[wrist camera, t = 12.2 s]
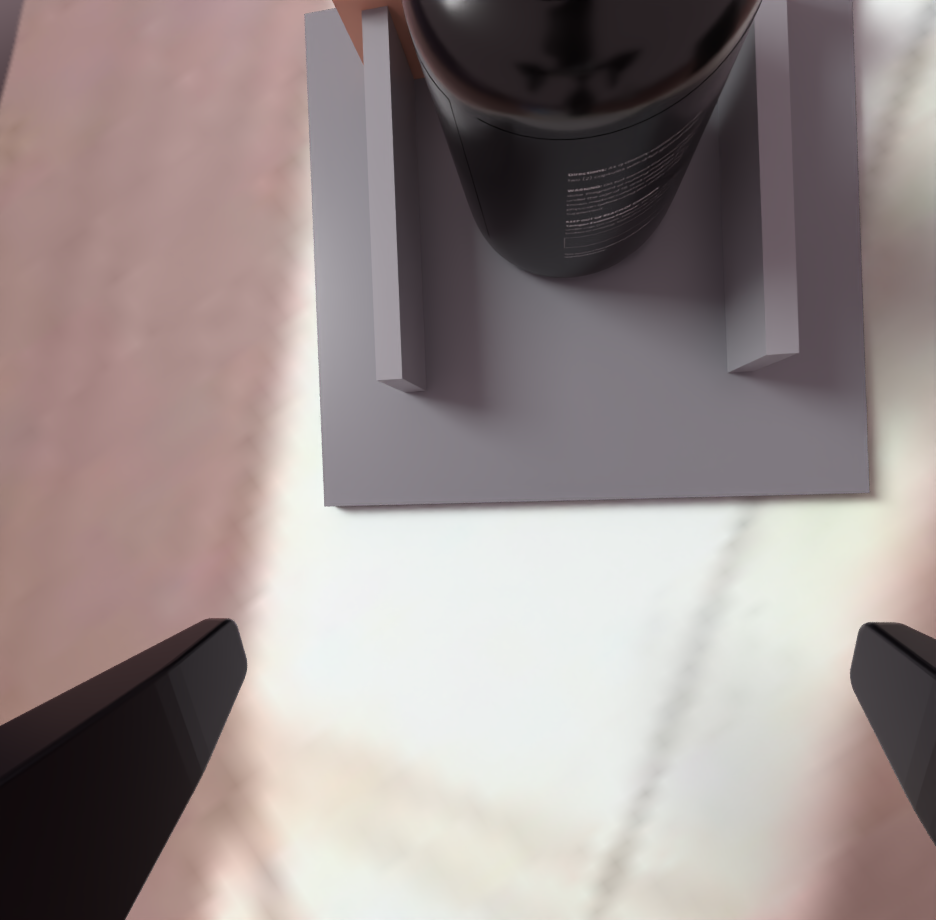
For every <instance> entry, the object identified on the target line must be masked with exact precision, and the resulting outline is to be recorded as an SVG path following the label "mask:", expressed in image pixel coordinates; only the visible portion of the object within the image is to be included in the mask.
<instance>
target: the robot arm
mask: <svg viewBox="0 0 936 920" xmlns="http://www.w3.org/2000/svg"><path fill="white" fill-rule="evenodd" d="M246 672H247V658H246V655H245V651H244V648H243V644H242V640H241V637H240V633H239V630H238V626H237V624H236V623H235V621H233V620H232V619H229V618H209V619H205V620H203V621H201V622H199V623H197V624H195V625H193V626H191V627H189V628H187V629H185V630H183V631H181V632H180V633H178V634H176V635H174V636H172V637H170V638H168V639H166V640H164V641H162V642H160V643H158V644H157V645H155V646H153V647H151V648H149V649H147V650H145V651H143V652H141V653H139V654H137V655H135V656H133V657H132V658H130V659H128V660H126V661H124V662H122V663H120V664H118V665H116V666H114V667H112V668H110V669H108V670H107V671H105V672H103V673H101V674H99V675H97V676H95V677H93V678H91V679H89V680H87V681H85V682H83V683H82V684H80V685H78V686H76V687H74V688H72V689H70V690H68V691H66V692H64V693H62V694H60V695H59V696H57V697H55V698H53V699H51V700H49V701H47V702H45V703H43V704H41V705H39V706H37V707H35V708H34V709H32V710H30V711H28V712H26V713H24V714H22V715H20V716H18V717H16V718H14V719H12V720H10V721H9V722H7V723H5V724H3V725H1V726H0V920H125V919H126V917H127V916H128V914H129V912H130V910H131V908H132V906H133V904H134V903H135V901H136V899H137V897H138V895H139V893H140V891H141V890H142V888H143V886H144V884H145V882H146V880H147V878H148V877H149V875H150V873H151V871H152V869H153V867H154V865H155V863H156V862H157V860H158V858H159V856H160V854H161V852H162V850H163V849H164V847H165V845H166V843H167V841H168V839H169V837H170V836H171V834H172V832H173V830H174V828H175V826H176V824H177V823H178V821H179V819H180V817H181V815H182V813H183V811H184V810H185V808H186V806H187V804H188V802H189V800H190V798H191V797H192V795H193V793H194V791H195V789H196V787H197V785H198V783H199V781H200V779H201V777H202V775H203V773H204V771H205V769H206V767H207V764H208V762H209V760H210V758H211V756H212V753H213V751H214V749H215V746H216V744H217V742H218V739H219V737H220V735H221V732H222V730H223V728H224V725H225V723H226V721H227V718H228V716H229V714H230V711H231V709H232V707H233V704H234V702H235V700H236V697H237V695H238V693H239V690H240V688H241V686H242V683H243V681H244V679H245V676H246ZM850 679H851V684H852V687H853V690H854V692H855V694H856V696H857V698H858V700H859V702H860V704H861V706H862V708H863V710H864V712H865V714H866V716H867V718H868V720H869V722H870V724H871V726H872V728H873V730H874V732H875V734H876V736H877V738H878V740H879V742H880V744H881V746H882V748H883V750H884V752H885V754H886V756H887V758H888V760H889V762H890V764H891V766H892V768H893V770H894V772H895V774H896V776H897V778H898V780H899V782H900V784H901V786H902V788H903V790H904V792H905V794H906V796H907V798H908V800H909V802H910V803H911V805H912V807H913V809H914V811H915V813H916V814H917V816H918V818H919V819H920V821H921V823H922V824H923V826H924V828H925V829H926V831H927V833H928V834H929V836H930V838H931V839H932V841H933V842H934V844H935V846H936V639H934V638H932V637H929V636H927V635H925V634H923V633H921V632H919V631H917V630H915V629H912V628H910V627H908V626H906V625H904V624H901V623H896V622H868V623H865V624H863V625H862V626H861V628H860V629H859V632H858V636H857V641H856V645H855V650H854V655H853V660H852V664H851V669H850Z"/></svg>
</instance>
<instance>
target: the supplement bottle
mask: <svg viewBox="0 0 936 920" xmlns="http://www.w3.org/2000/svg"><path fill="white" fill-rule="evenodd" d="M401 1H402V5H403V10H404V14H405V18H406V22H407V25H408V28H409V32H410V35H411V39H412V42H413V45H414V48H415V51H416V54H417V57H418V60H419V63H420V65H421V68H422V71H423V74H424V77H425V80H426V83H427V86H428V89H429V92H430V95H431V98H432V100H433V103H434V106H435V109H436V112H437V115H438V118H439V121H440V124H441V127H442V129H443V132H444V135H445V138H446V141H447V144H448V147H449V150H450V153H451V156H452V159H453V161H454V164H455V167H456V170H457V173H458V176H459V179H460V182H461V185H462V188H463V191H464V193H465V196H466V199H467V202H468V205H469V207H470V210H471V213H472V215H473V218H474V220H475V222H476V224H477V226H478V228H479V230H480V231H481V233H482V235H483V236H484V238H485V239H486V241H487V242H488V243H489V244H490V246H491V247H492V248H493V249H494V250H495V251H496V252H497V253H498V254H499V255H501V256H502V257H503V258H504V259H506V260H507V261H508V262H510V263H512V264H513V265H515V266H517V267H519V268H521V269H523V270H525V271H528V272H530V273H534V274H537V275H541V276H546V277H554V278H572V277H580V276H586V275H590V274H593V273H597V272H599V271H602V270H605V269H607V268H609V267H611V266H613V265H615V264H617V263H619V262H621V261H622V260H624V259H626V258H627V257H628V256H630V255H631V254H632V253H634V252H635V251H636V250H637V249H638V248H640V247H641V246H642V245H643V244H644V243H645V242H646V241H647V240H648V239H649V237H650V236H651V235H652V234H653V232H654V231H655V230H656V229H657V227H658V226H659V224H660V223H661V221H662V219H663V218H664V216H665V215H666V213H667V211H668V209H669V207H670V205H671V203H672V201H673V199H674V197H675V195H676V193H677V191H678V188H679V186H680V184H681V182H682V179H683V177H684V175H685V173H686V170H687V168H688V166H689V164H690V162H691V159H692V157H693V155H694V153H695V150H696V148H697V146H698V144H699V141H700V139H701V137H702V135H703V133H704V130H705V128H706V126H707V124H708V121H709V119H710V117H711V115H712V112H713V110H714V108H715V106H716V104H717V101H718V99H719V97H720V95H721V92H722V90H723V88H724V86H725V83H726V81H727V79H728V77H729V74H730V72H731V70H732V68H733V66H734V63H735V61H736V59H737V57H738V54H739V52H740V50H741V48H742V45H743V43H744V41H745V39H746V36H747V34H748V32H749V30H750V28H751V25H752V23H753V21H754V19H755V16H756V14H757V12H758V9H759V7H760V5H761V2H762V0H401Z"/></svg>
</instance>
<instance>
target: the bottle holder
mask: <svg viewBox="0 0 936 920" xmlns="http://www.w3.org/2000/svg"><path fill="white" fill-rule="evenodd" d="M332 1H333V3H334V5H335V7H336V8H334V9H328V10H323V11H318V12H312V13H307V14H304V15H305V40H306V64H307V89H308V113H309V138H310V163H311V187H312V212H313V236H314V261H315V285H316V310H317V334H318V359H319V383H320V408H321V432H322V457H323V481H324V506H363V505H403V504H443V503H484V502H524V501H564V500H604V499H644V498H684V497H724V496H764V495H804V494H845V493H869V465H868V437H867V408H866V380H865V351H864V322H863V294H862V265H861V237H860V208H859V180H858V151H857V123H856V94H855V66H854V37H853V8H852V0H762V2H761V5H760V7H759V9H758V12H757V14H756V16H755V19H754V21H753V23H752V25H751V28H750V30H749V32H748V34H747V36H746V39H745V41H744V43H743V45H742V48H741V50H740V52H739V54H738V57H737V59H736V61H735V63H734V66H733V68H732V70H731V72H730V74H729V77H728V79H727V81H726V83H725V86H724V88H723V90H722V92H721V95H720V97H719V99H718V101H717V104H716V106H715V108H714V110H713V112H712V115H711V117H710V119H709V121H708V124H707V126H706V128H705V130H704V133H703V135H702V137H701V139H700V141H699V144H698V146H697V148H696V150H695V153H694V155H693V157H692V159H691V162H690V164H689V166H688V168H687V170H686V173H685V175H684V177H683V179H682V182H681V184H680V186H679V188H678V191H677V193H676V195H675V197H674V199H673V201H672V203H671V205H670V207H669V209H668V211H667V213H666V215H665V216H664V218H663V219H662V221H661V223H660V224H659V226H658V227H657V229H656V230H655V231H654V232H653V234H652V235H651V236H650V237H649V239H648V240H647V241H646V242H645V243H644V244H643V245H642V246H641V247H640V248H638V249H637V250H636V251H635V252H634V253H632V254H631V255H630V256H628V257H627V258H626V259H624V260H622V261H621V262H619V263H617V264H615V265H613V266H611V267H609V268H607V269H605V270H602V271H599V272H597V273H593V274H590V275H586V276H580V277H572V278H554V277H546V276H541V275H537V274H534V273H530V272H528V271H525V270H523V269H521V268H519V267H517V266H515V265H513V264H512V263H510V262H508V261H507V260H506V259H504V258H503V257H502V256H501V255H499V254H498V253H497V252H496V251H495V250H494V249H493V248H492V247H491V246H490V244H489V243H488V242H487V241H486V239H485V238H484V236H483V235H482V233H481V231H480V230H479V228H478V226H477V224H476V222H475V220H474V218H473V215H472V213H471V210H470V207H469V205H468V202H467V199H466V196H465V193H464V191H463V188H462V185H461V182H460V179H459V176H458V173H457V170H456V167H455V164H454V161H453V159H452V156H451V153H450V150H449V147H448V144H447V141H446V138H445V135H444V132H443V129H442V127H441V124H440V121H439V118H438V115H437V112H436V109H435V106H434V103H433V100H432V98H431V95H430V92H429V89H428V86H427V83H426V80H425V77H424V74H423V71H422V68H421V65H420V63H419V60H418V57H417V54H416V51H415V48H414V45H413V42H412V39H411V35H410V32H409V28H408V25H407V22H406V18H405V14H404V10H403V5H402V1H401V0H332Z"/></svg>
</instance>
